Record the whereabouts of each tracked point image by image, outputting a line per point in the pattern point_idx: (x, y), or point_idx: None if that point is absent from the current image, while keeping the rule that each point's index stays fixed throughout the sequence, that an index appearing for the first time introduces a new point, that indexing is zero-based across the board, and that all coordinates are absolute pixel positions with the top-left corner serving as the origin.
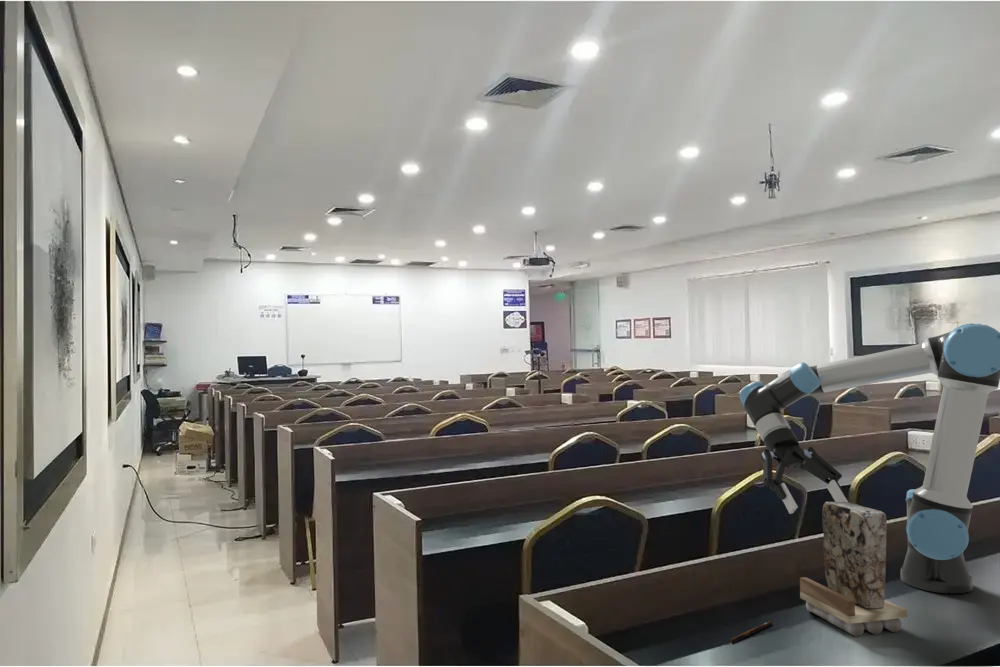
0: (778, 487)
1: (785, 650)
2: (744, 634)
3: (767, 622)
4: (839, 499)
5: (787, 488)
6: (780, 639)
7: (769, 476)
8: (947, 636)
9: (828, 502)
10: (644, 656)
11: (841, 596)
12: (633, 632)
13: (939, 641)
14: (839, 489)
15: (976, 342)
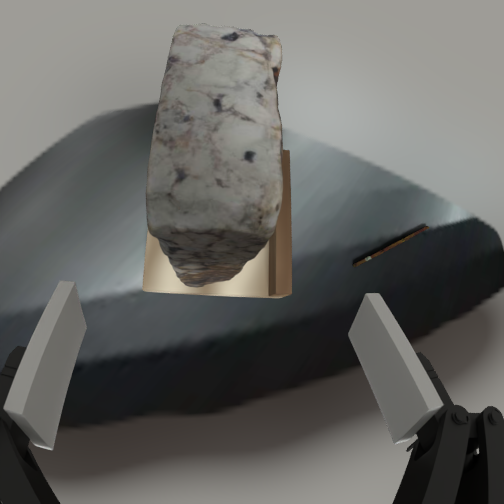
0: (444, 394)
1: (377, 185)
2: (409, 235)
3: (363, 261)
4: (67, 333)
5: (413, 376)
6: (368, 214)
7: (497, 434)
8: (120, 145)
9: (273, 185)
10: (494, 231)
11: (283, 172)
12: (493, 289)
13: (148, 136)
14: (32, 347)
15: None
